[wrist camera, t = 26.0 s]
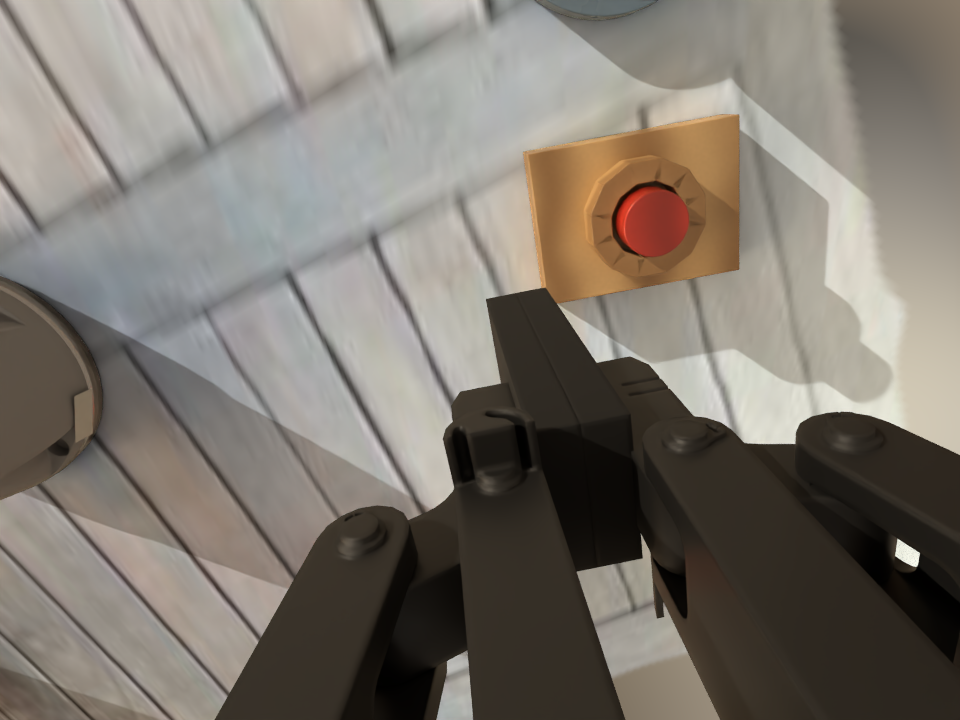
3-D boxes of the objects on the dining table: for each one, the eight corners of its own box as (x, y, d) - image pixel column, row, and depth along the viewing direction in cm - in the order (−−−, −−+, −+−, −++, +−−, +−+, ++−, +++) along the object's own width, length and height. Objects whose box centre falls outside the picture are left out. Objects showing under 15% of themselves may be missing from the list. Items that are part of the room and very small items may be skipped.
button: (617, 255, 34) (626, 262, 33) (612, 192, 33) (621, 196, 31) (679, 244, 34) (690, 250, 33) (676, 180, 33) (688, 184, 31)
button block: (542, 295, 39) (553, 314, 35) (522, 151, 35) (532, 156, 32) (723, 261, 39) (753, 277, 35) (722, 114, 35) (755, 114, 31)
